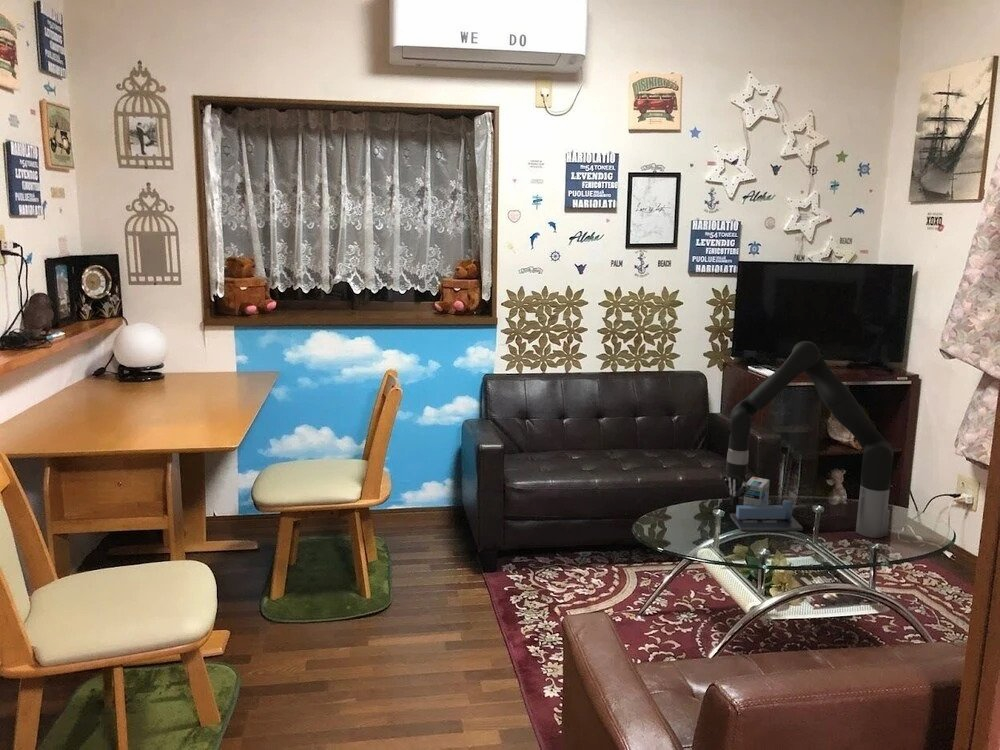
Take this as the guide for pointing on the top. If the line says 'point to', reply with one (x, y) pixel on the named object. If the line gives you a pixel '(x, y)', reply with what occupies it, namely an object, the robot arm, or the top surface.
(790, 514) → the swing arm
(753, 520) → the plate
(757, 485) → the light bulb box
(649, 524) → the top surface
